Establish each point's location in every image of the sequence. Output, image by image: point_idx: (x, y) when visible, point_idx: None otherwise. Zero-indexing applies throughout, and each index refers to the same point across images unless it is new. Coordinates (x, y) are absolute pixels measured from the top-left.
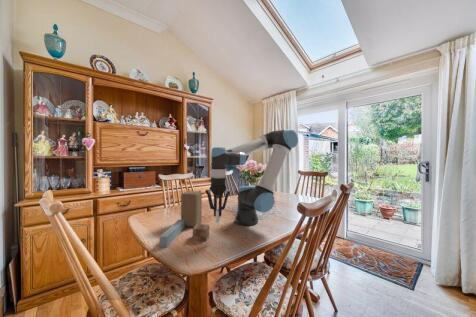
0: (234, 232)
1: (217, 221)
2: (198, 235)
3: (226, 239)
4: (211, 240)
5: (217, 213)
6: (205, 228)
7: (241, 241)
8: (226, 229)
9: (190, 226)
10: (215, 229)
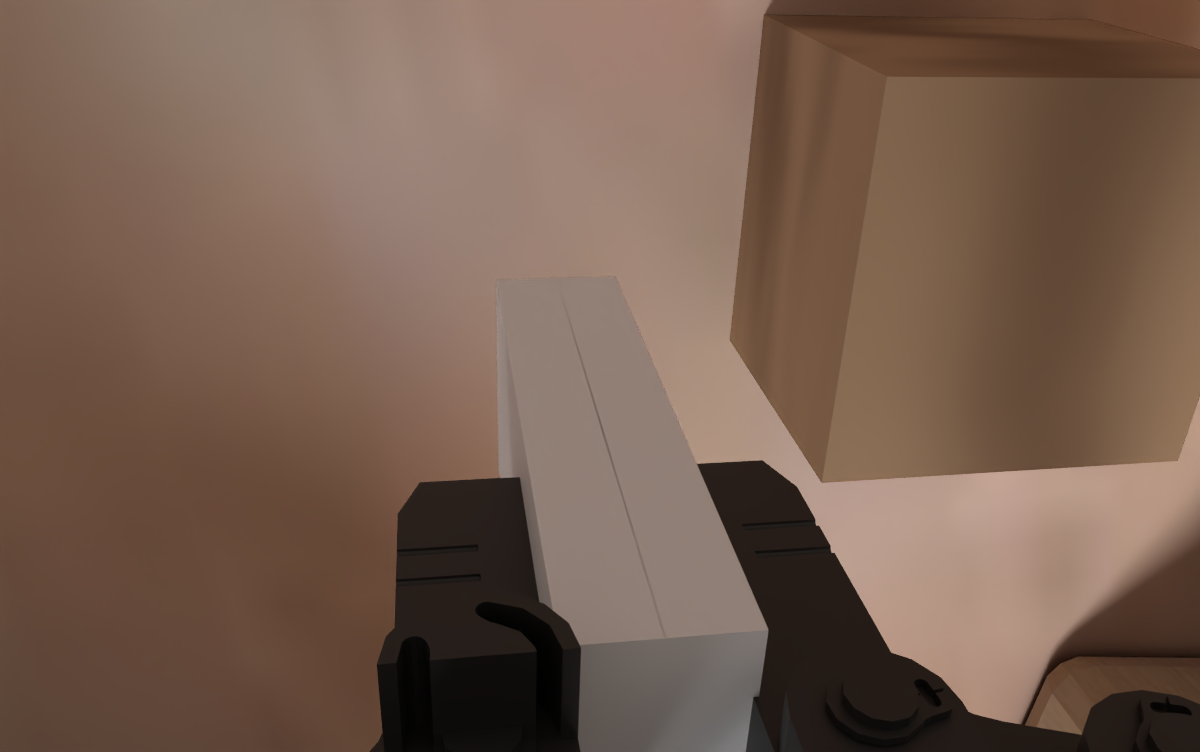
0: (143, 565)
1: (546, 311)
2: (1023, 42)
3: (245, 154)
4: (634, 56)
5: (611, 519)
6: (916, 162)
7: None
8: None
9: (1157, 659)
10: None
